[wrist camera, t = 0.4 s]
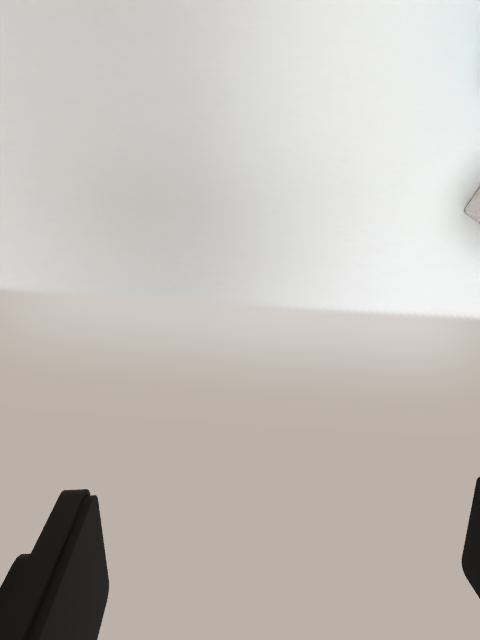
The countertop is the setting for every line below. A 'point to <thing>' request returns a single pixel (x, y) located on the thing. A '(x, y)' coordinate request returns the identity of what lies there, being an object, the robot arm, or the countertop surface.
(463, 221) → the countertop surface
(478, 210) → the ink box
